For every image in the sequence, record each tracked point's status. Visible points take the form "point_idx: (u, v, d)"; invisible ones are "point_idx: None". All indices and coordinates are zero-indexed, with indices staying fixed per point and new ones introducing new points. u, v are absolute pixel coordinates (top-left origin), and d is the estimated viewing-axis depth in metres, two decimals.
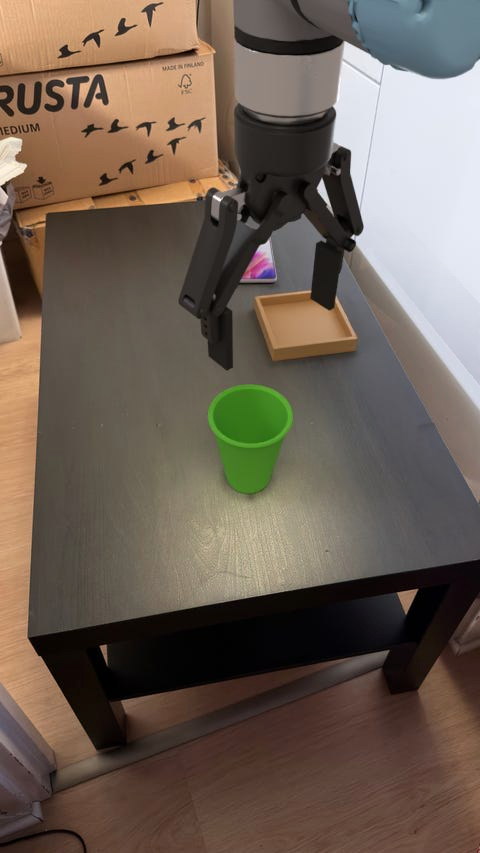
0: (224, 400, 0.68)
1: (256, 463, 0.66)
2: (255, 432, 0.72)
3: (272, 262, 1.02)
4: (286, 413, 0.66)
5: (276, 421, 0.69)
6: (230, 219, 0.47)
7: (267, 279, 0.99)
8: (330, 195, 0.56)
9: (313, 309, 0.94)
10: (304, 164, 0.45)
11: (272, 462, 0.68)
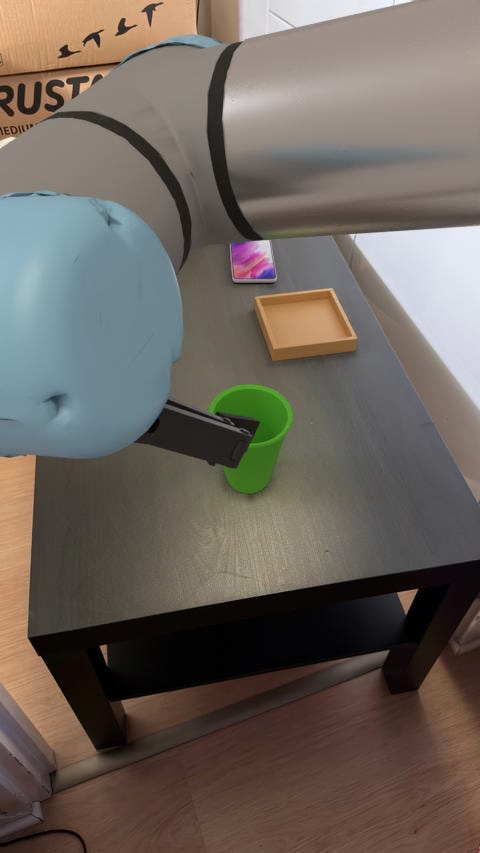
0: (224, 400, 0.68)
1: (256, 463, 0.66)
2: None
3: (272, 262, 1.02)
4: (286, 413, 0.66)
5: (276, 421, 0.69)
6: None
7: (267, 279, 0.99)
8: None
9: (313, 309, 0.94)
10: None
11: (272, 462, 0.68)
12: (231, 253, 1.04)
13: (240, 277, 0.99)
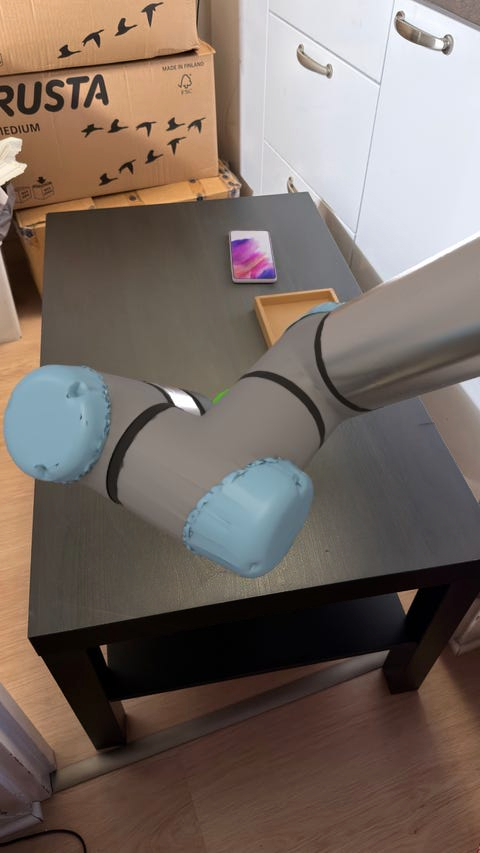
0: None
1: None
2: None
3: (272, 262, 1.02)
4: None
5: None
6: None
7: (267, 279, 0.99)
8: None
9: None
10: (210, 402, 0.54)
11: None
12: (231, 253, 1.04)
13: (240, 277, 0.99)
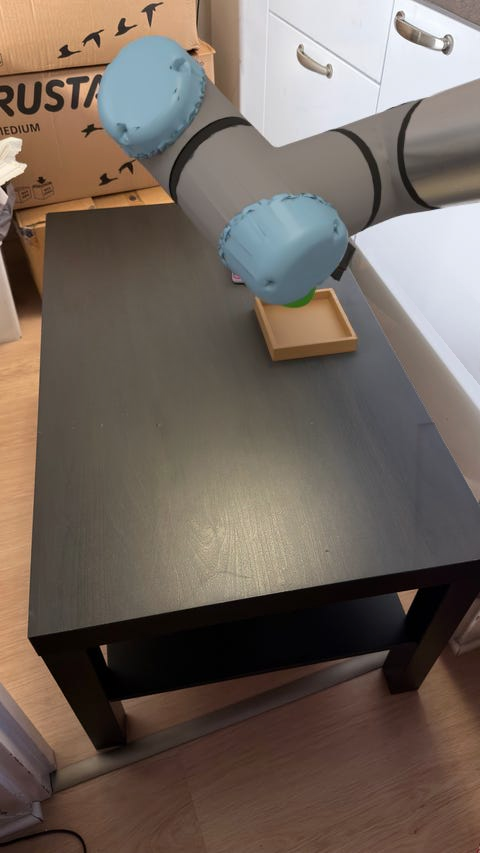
0: None
1: None
2: None
3: None
4: None
5: None
6: None
7: None
8: None
9: (313, 309, 0.94)
10: None
11: None
12: None
13: None
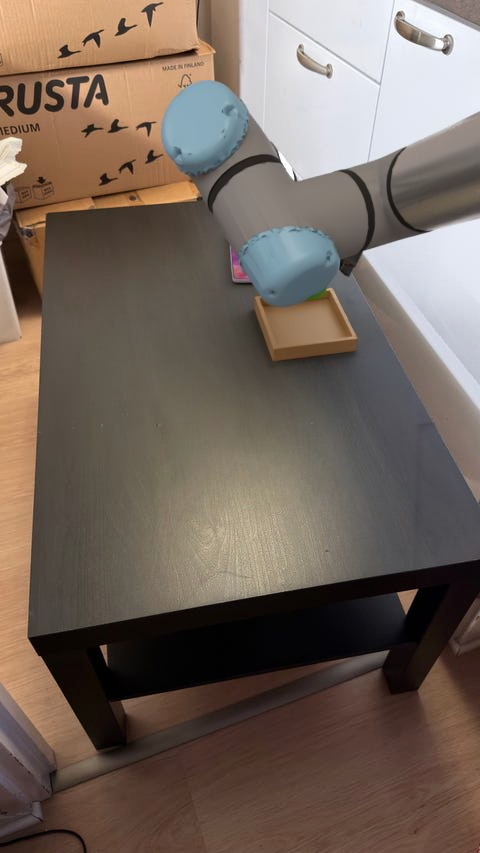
0: None
1: None
2: None
3: None
4: None
5: None
6: None
7: None
8: None
9: (313, 309, 0.94)
10: None
11: None
12: (231, 253, 1.04)
13: (240, 277, 0.99)
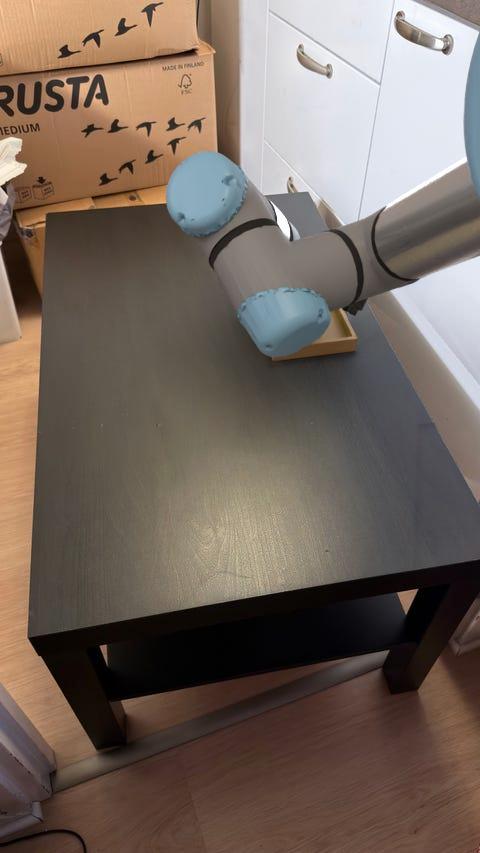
0: None
1: None
2: None
3: None
4: None
5: None
6: None
7: None
8: None
9: None
10: None
11: None
12: None
13: None
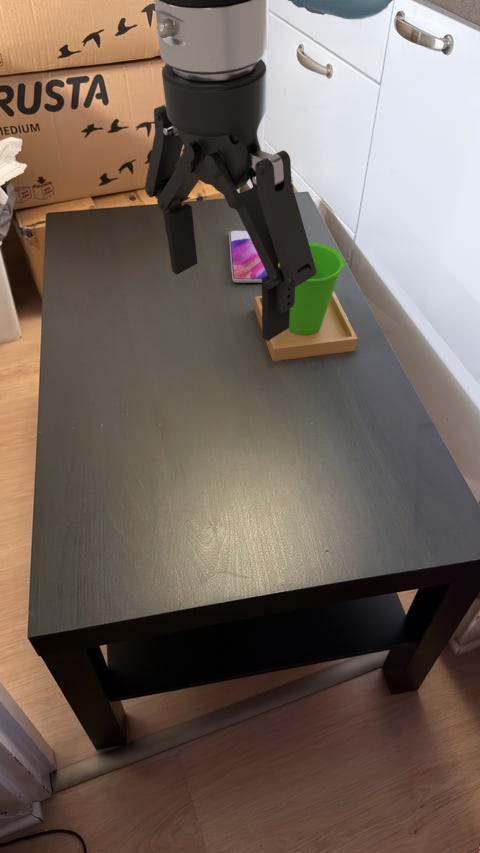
0: None
1: (315, 300, 0.84)
2: None
3: None
4: (338, 261, 0.84)
5: (328, 272, 0.87)
6: None
7: None
8: (163, 163, 0.55)
9: None
10: None
11: (326, 303, 0.86)
12: (231, 253, 1.04)
13: (240, 277, 0.99)
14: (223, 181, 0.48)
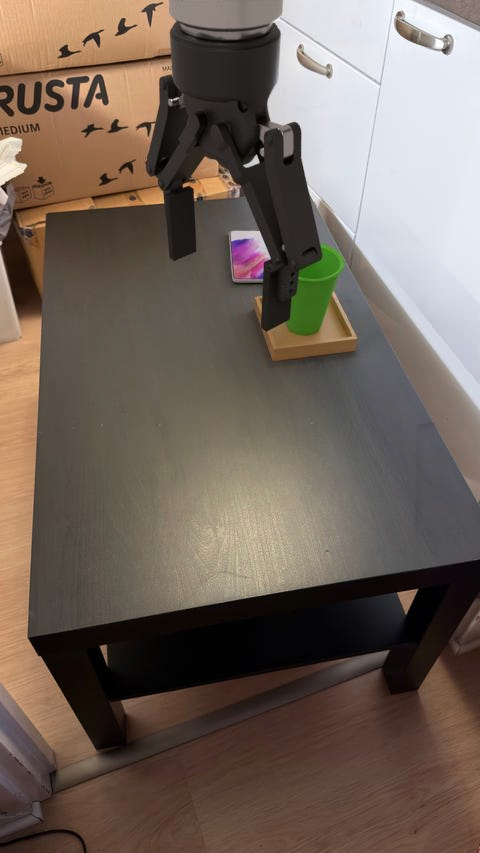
0: None
1: (315, 300, 0.84)
2: None
3: None
4: (338, 261, 0.84)
5: (328, 272, 0.87)
6: None
7: None
8: (166, 138, 0.52)
9: None
10: None
11: (326, 303, 0.86)
12: (231, 253, 1.04)
13: (240, 277, 0.99)
14: (228, 153, 0.45)
